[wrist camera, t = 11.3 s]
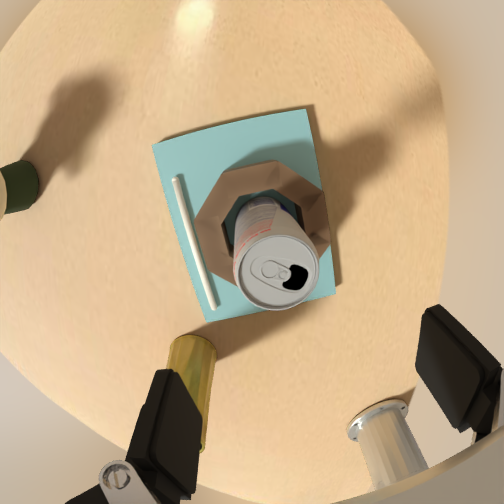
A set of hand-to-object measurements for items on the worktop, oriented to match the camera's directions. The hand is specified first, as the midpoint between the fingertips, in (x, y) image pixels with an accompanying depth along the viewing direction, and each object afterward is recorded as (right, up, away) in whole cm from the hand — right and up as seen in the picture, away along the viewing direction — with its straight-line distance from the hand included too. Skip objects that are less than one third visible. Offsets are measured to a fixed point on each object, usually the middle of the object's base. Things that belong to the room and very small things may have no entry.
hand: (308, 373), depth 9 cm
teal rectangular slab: (-2, +8, +20) cm, 21 cm away
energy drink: (-1, +7, +19) cm, 20 cm away
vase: (-10, -8, +25) cm, 28 cm away
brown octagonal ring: (-1, +7, +18) cm, 20 cm away
